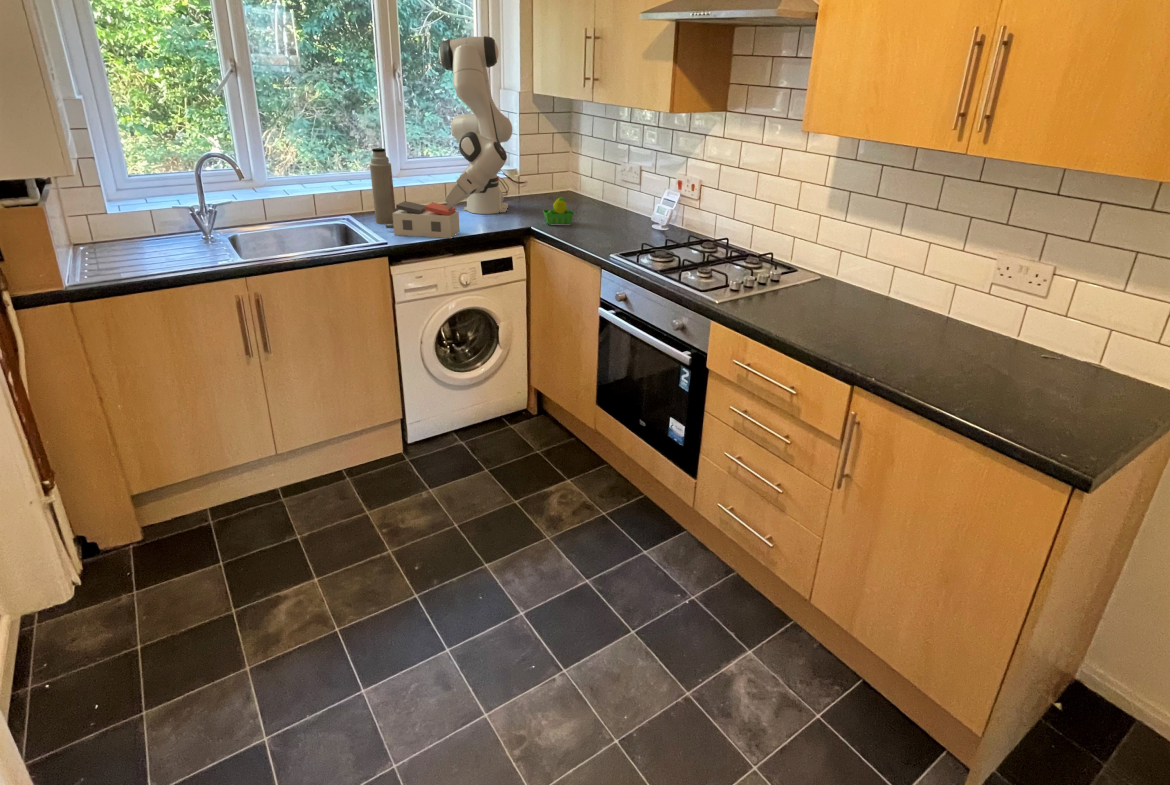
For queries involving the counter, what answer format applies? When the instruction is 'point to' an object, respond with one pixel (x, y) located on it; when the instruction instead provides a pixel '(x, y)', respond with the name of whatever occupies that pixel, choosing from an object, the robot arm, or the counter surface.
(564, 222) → the fruit basket
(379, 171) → the thermos bottle
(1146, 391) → the counter surface
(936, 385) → the counter surface
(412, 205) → the black rocker
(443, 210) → the red rocker
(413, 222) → the rocker switch box
